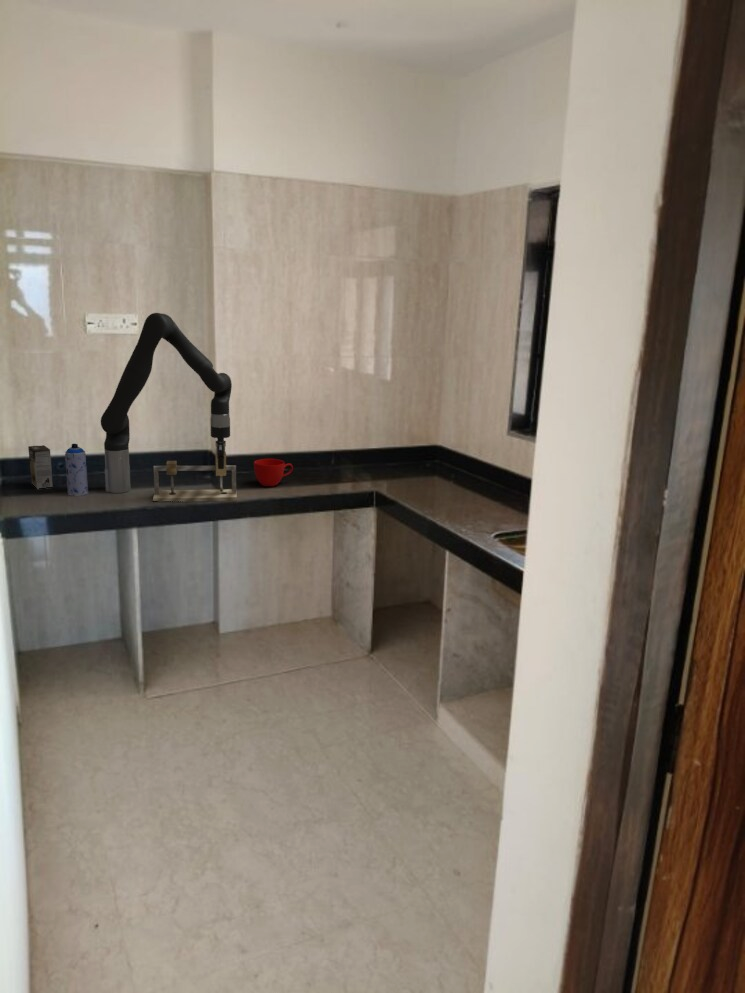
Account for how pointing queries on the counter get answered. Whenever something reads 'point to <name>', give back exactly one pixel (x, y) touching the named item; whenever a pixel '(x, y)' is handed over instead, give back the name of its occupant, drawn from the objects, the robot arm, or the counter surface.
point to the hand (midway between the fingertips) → (221, 466)
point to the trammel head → (221, 470)
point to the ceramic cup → (270, 471)
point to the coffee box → (40, 466)
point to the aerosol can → (76, 470)
